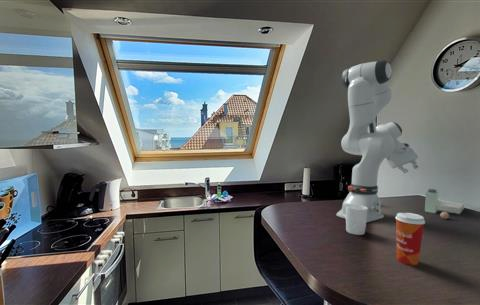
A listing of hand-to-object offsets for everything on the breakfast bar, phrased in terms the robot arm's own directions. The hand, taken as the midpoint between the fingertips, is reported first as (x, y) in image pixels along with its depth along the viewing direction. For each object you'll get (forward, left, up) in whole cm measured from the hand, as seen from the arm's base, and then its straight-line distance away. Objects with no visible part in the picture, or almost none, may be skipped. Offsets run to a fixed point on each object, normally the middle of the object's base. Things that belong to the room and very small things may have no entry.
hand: (411, 170), depth 147 cm
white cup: (-64, +3, -20) cm, 67 cm away
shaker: (-5, -11, -19) cm, 23 cm away
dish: (+7, -16, -19) cm, 26 cm away
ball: (-15, -18, -19) cm, 30 cm away
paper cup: (-77, -18, -20) cm, 81 cm away
